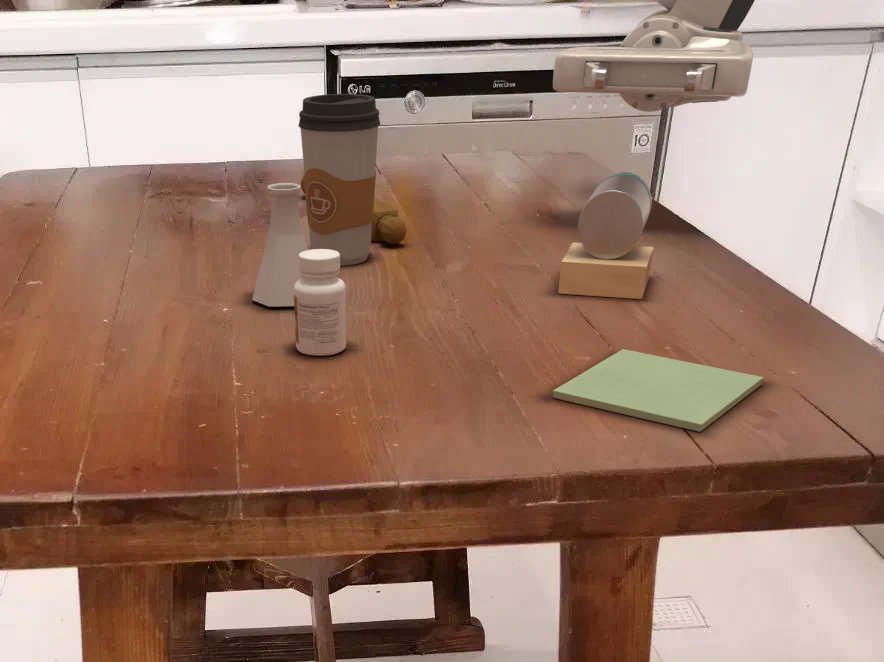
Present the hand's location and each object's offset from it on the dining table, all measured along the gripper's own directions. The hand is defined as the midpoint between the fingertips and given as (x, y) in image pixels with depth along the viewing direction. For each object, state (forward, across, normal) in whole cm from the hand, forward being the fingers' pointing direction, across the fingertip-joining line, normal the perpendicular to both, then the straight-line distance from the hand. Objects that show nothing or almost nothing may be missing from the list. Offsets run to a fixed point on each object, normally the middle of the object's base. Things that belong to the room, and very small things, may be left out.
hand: (644, 80), depth 111 cm
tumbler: (+14, 0, +13) cm, 19 cm away
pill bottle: (+42, -21, +16) cm, 49 cm away
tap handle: (-5, -33, +16) cm, 37 cm away
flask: (+28, -29, +16) cm, 43 cm away
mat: (+45, +8, +16) cm, 48 cm away
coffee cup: (+12, -29, +16) cm, 35 cm away
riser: (+16, 0, +16) cm, 23 cm away
